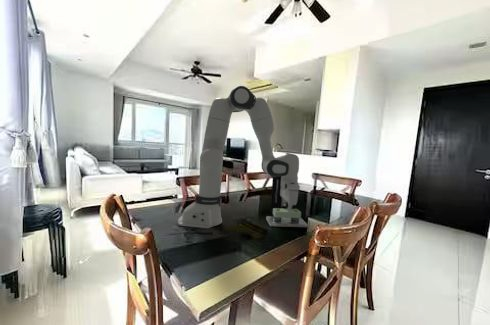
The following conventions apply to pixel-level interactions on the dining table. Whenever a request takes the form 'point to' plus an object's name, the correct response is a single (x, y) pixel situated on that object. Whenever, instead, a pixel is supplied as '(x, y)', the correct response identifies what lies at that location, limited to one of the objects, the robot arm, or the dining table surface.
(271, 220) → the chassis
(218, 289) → the dining table surface
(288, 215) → the board
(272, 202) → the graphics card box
